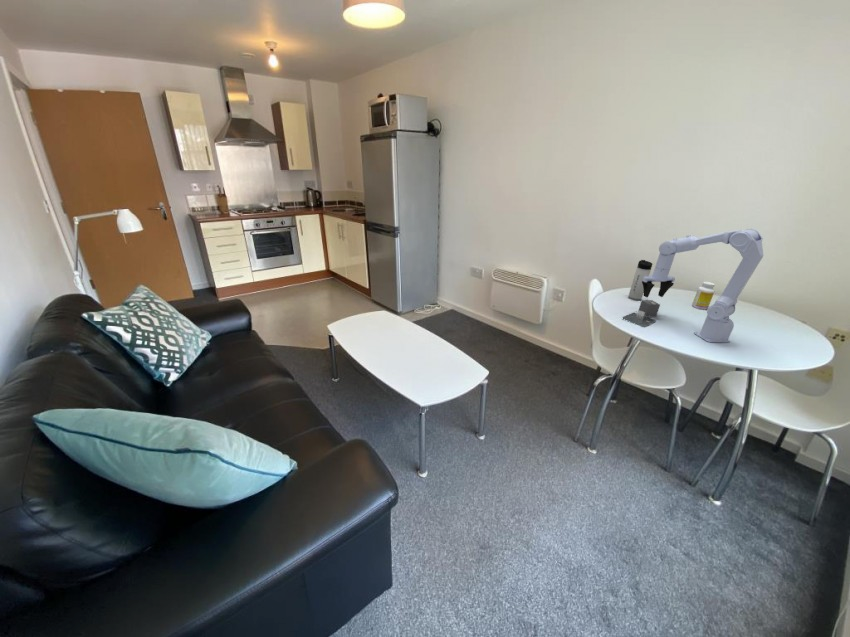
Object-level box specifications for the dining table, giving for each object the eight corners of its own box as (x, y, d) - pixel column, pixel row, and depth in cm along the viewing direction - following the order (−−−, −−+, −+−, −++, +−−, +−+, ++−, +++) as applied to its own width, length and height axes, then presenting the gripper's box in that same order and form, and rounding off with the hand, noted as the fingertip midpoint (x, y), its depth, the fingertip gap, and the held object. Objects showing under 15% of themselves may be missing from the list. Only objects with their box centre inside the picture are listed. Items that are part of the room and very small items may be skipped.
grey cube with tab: (648, 311, 170) (652, 299, 167) (656, 316, 165) (660, 303, 162) (638, 311, 169) (641, 299, 167) (645, 316, 165) (649, 303, 162)
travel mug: (637, 296, 189) (649, 260, 180) (643, 301, 183) (655, 263, 174) (625, 295, 189) (636, 259, 181) (631, 300, 183) (642, 262, 175)
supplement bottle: (710, 310, 175) (720, 285, 169) (697, 309, 175) (707, 285, 169) (701, 304, 181) (710, 281, 175) (688, 304, 181) (697, 280, 175)
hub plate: (633, 314, 166) (635, 305, 164) (655, 322, 159) (658, 313, 157) (622, 318, 161) (624, 309, 159) (644, 327, 154) (647, 318, 152)
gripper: (670, 265, 161) (660, 292, 167) (641, 265, 159) (633, 293, 165) (682, 269, 155) (672, 298, 160) (652, 270, 152) (643, 299, 158)
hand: (653, 296), depth 162 cm, fingers open, 7 cm apart
